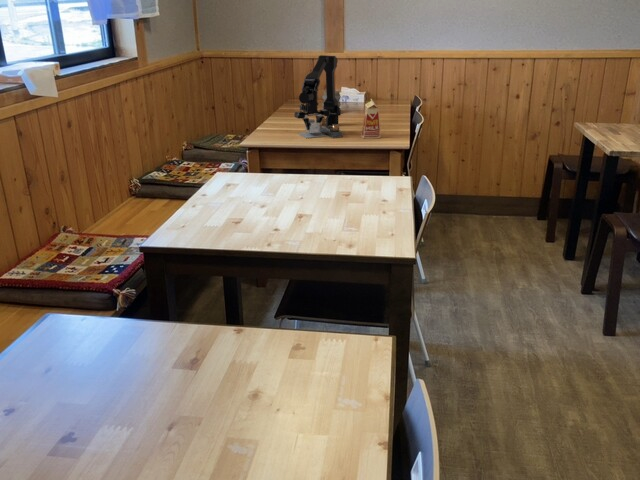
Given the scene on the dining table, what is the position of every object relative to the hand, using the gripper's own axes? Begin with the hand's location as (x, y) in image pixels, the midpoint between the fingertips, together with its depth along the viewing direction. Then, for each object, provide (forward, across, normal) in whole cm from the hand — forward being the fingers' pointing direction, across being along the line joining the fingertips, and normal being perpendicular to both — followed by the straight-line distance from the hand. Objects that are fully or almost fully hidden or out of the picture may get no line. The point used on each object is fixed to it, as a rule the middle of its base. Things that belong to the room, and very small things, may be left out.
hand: (312, 129), depth 314 cm
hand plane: (+3, -10, 0) cm, 10 cm away
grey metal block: (+1, 0, 0) cm, 1 cm away
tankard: (+4, -39, -59) cm, 71 cm away
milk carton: (+3, -27, +17) cm, 32 cm away
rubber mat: (+3, 0, 0) cm, 3 cm away
